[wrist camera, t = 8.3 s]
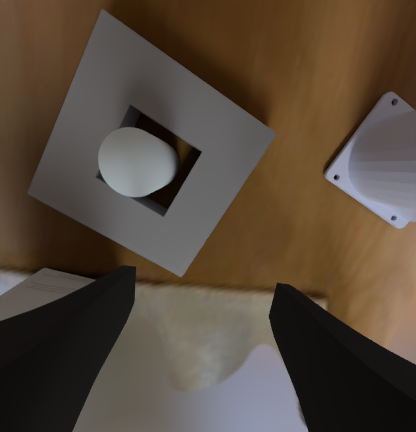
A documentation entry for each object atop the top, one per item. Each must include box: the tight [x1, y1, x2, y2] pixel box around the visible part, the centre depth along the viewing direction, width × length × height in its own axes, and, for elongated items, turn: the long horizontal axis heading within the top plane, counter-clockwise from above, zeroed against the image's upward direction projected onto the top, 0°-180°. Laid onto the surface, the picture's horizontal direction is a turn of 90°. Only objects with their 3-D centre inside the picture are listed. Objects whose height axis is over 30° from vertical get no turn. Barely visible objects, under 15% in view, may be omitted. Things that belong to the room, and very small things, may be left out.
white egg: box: [98, 127, 179, 197], centre depth 15 cm, size 4×4×6 cm
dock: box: [27, 9, 277, 277], centre depth 16 cm, size 14×14×2 cm
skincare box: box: [0, 268, 96, 321], centre depth 14 cm, size 8×6×15 cm
